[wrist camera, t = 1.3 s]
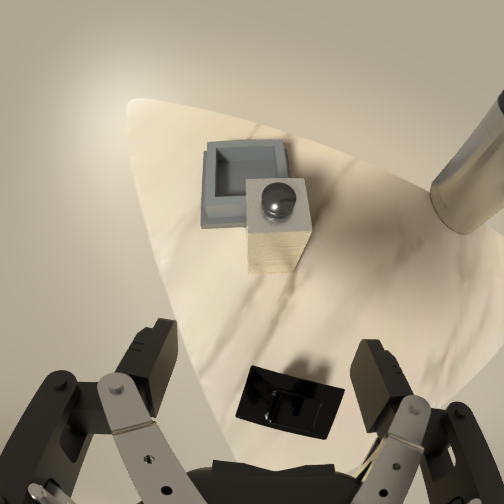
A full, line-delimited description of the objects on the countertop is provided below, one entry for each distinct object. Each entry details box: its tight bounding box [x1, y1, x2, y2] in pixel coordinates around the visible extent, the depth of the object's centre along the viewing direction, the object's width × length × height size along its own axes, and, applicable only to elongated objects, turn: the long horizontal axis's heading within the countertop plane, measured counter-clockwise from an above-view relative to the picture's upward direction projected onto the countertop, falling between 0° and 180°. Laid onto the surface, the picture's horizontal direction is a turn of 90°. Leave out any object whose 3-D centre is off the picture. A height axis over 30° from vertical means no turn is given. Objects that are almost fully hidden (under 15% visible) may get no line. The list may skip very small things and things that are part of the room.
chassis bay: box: [201, 140, 290, 229], centre depth 31 cm, size 10×10×4 cm
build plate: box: [235, 365, 345, 440], centre depth 23 cm, size 12×7×5 cm, turn 72°
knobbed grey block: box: [246, 178, 312, 274], centre depth 25 cm, size 4×4×11 cm
